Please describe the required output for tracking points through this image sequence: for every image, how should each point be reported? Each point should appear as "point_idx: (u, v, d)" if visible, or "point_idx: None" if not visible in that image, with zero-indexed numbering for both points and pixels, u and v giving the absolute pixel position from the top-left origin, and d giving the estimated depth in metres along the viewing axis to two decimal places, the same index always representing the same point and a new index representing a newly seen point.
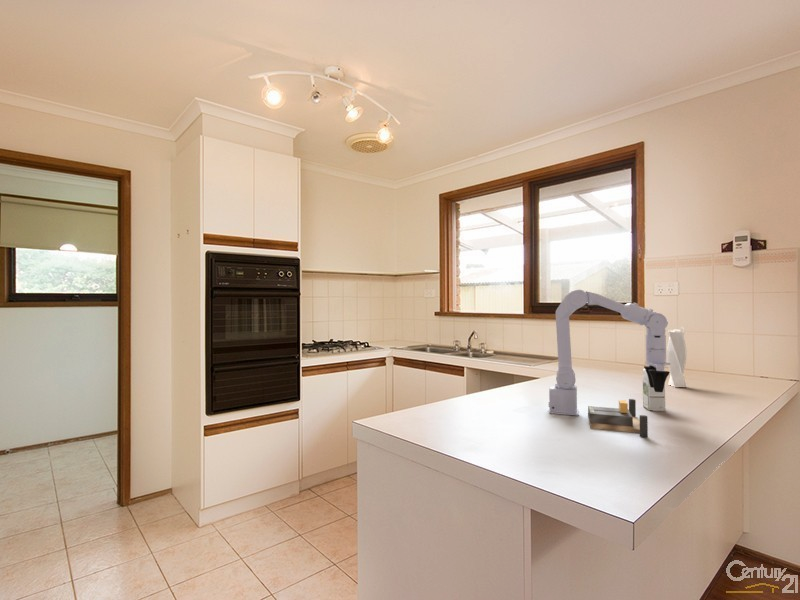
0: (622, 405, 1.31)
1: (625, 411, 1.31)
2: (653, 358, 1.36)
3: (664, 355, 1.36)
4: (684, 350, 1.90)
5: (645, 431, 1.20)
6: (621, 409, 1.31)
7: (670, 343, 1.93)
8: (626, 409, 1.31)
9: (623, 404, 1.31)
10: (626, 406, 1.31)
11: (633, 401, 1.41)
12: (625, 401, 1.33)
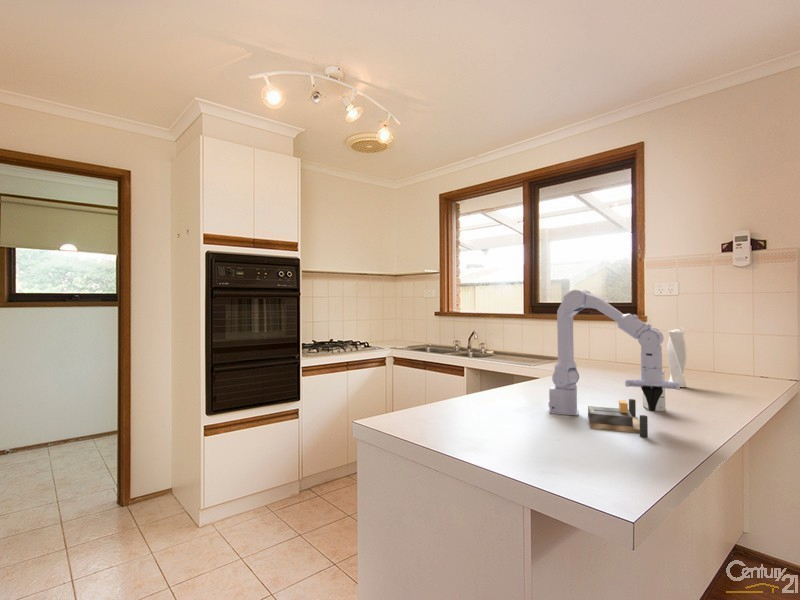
0: (622, 405, 1.31)
1: (625, 411, 1.31)
2: None
3: (645, 374, 1.29)
4: (684, 350, 1.90)
5: (645, 431, 1.20)
6: (621, 409, 1.31)
7: (670, 343, 1.93)
8: (626, 409, 1.31)
9: (623, 404, 1.31)
10: (626, 406, 1.31)
11: (633, 401, 1.41)
12: (625, 401, 1.33)
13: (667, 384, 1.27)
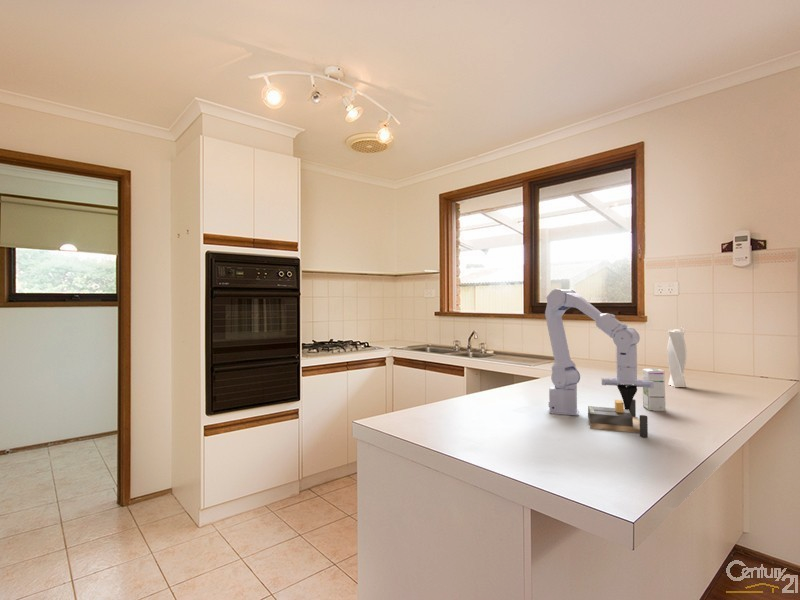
0: (618, 405, 1.31)
1: (621, 411, 1.31)
2: None
3: (621, 373, 1.31)
4: (684, 350, 1.90)
5: (645, 431, 1.20)
6: (617, 409, 1.32)
7: (670, 343, 1.93)
8: (622, 409, 1.31)
9: (619, 404, 1.31)
10: (622, 406, 1.31)
11: (633, 401, 1.41)
12: (621, 401, 1.34)
13: (641, 383, 1.29)
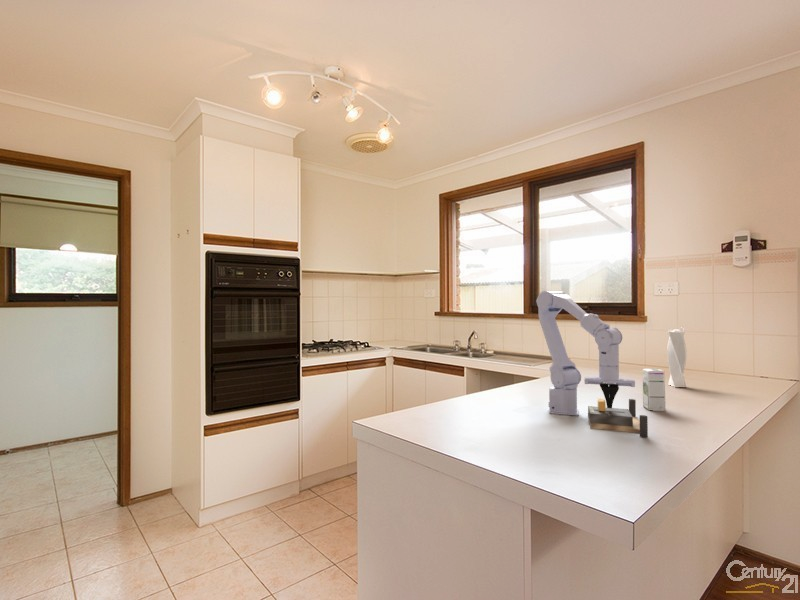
0: (600, 403, 1.33)
1: (603, 409, 1.33)
2: None
3: (603, 372, 1.33)
4: (684, 350, 1.90)
5: (645, 431, 1.20)
6: (599, 407, 1.33)
7: (670, 343, 1.93)
8: (604, 407, 1.33)
9: (601, 402, 1.33)
10: (604, 404, 1.33)
11: (633, 401, 1.41)
12: (603, 399, 1.36)
13: (623, 382, 1.31)
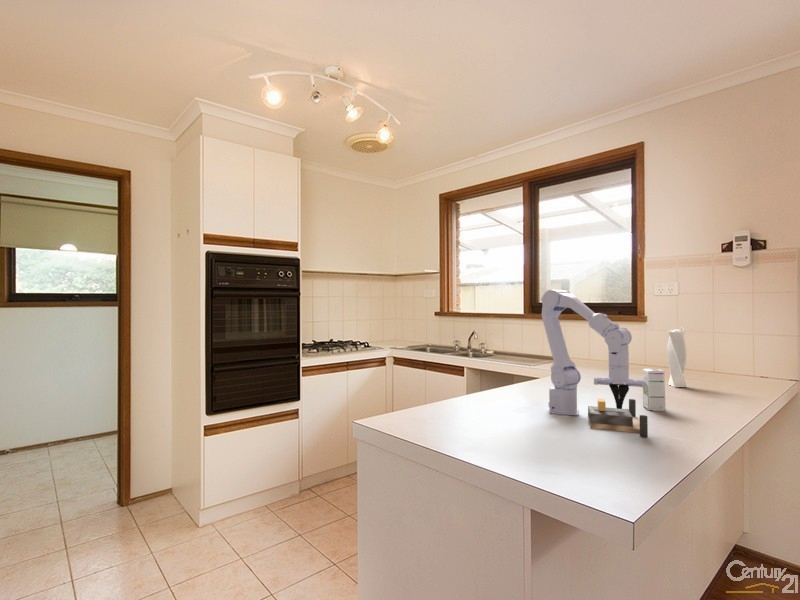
0: (600, 403, 1.33)
1: (603, 409, 1.33)
2: None
3: (612, 372, 1.32)
4: (684, 350, 1.90)
5: (645, 431, 1.20)
6: (599, 407, 1.33)
7: (670, 343, 1.93)
8: (604, 407, 1.33)
9: (601, 402, 1.33)
10: (604, 404, 1.33)
11: (633, 401, 1.41)
12: (603, 399, 1.36)
13: (633, 382, 1.30)
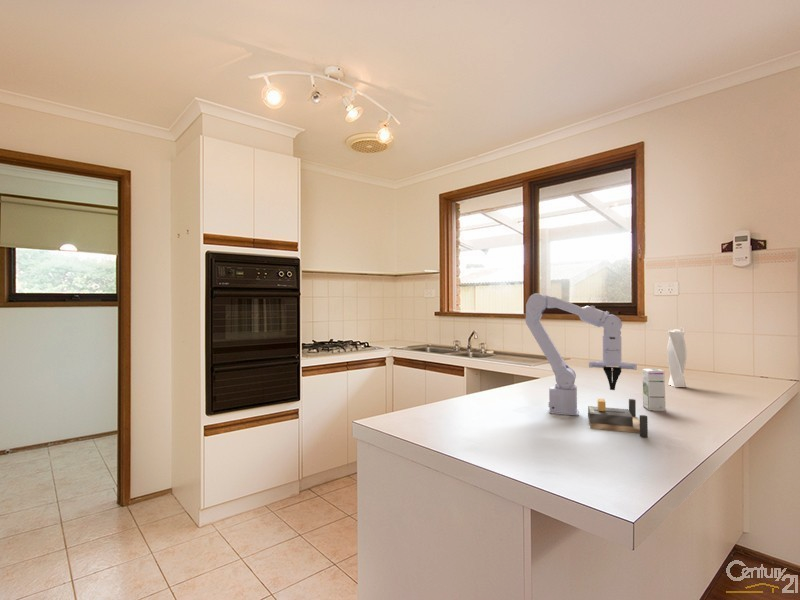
0: (600, 403, 1.33)
1: (603, 409, 1.33)
2: None
3: (606, 355, 1.41)
4: (684, 350, 1.90)
5: (645, 431, 1.20)
6: (599, 407, 1.33)
7: (670, 343, 1.93)
8: (604, 407, 1.33)
9: (601, 402, 1.33)
10: (604, 404, 1.33)
11: (633, 401, 1.41)
12: (603, 399, 1.36)
13: (625, 365, 1.39)
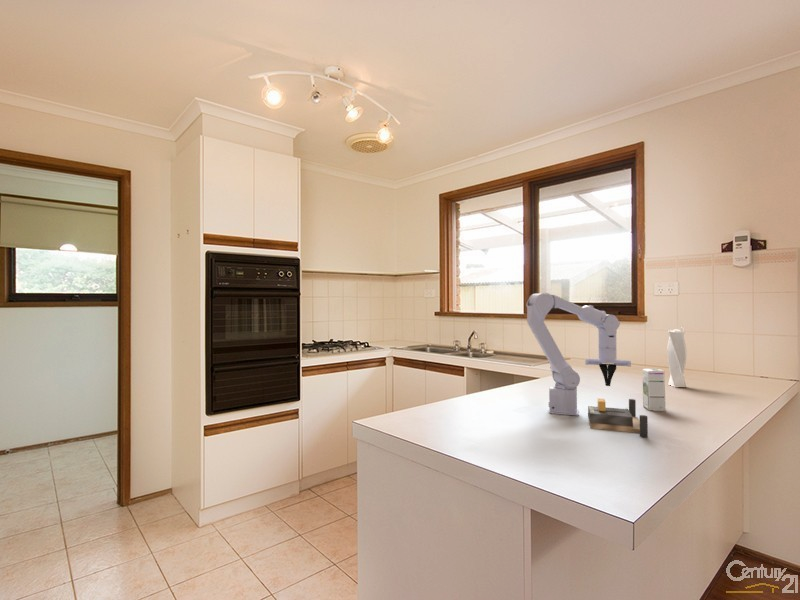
0: (600, 403, 1.33)
1: (603, 409, 1.33)
2: None
3: (602, 353, 1.48)
4: (684, 350, 1.90)
5: (645, 431, 1.20)
6: (599, 407, 1.33)
7: (670, 343, 1.93)
8: (604, 407, 1.33)
9: (601, 402, 1.33)
10: (604, 404, 1.33)
11: (633, 401, 1.41)
12: (603, 399, 1.36)
13: (620, 362, 1.46)
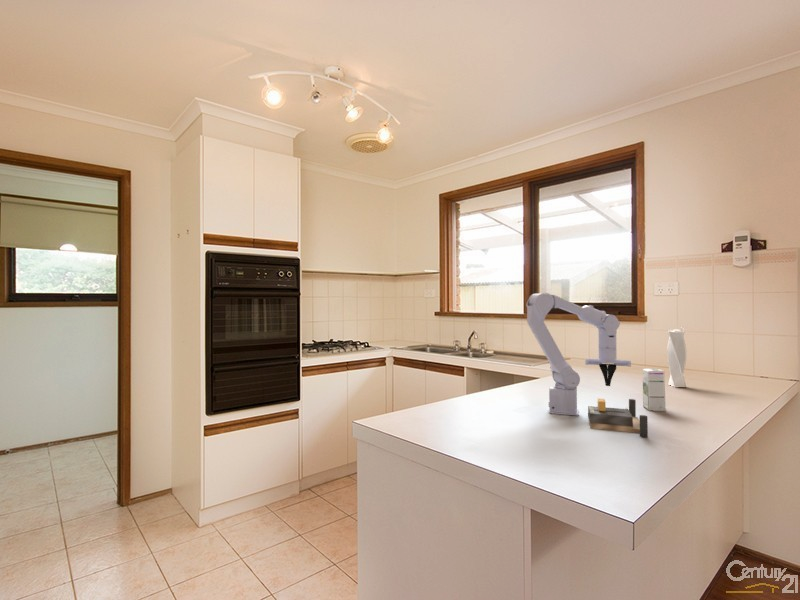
0: (600, 403, 1.33)
1: (603, 409, 1.33)
2: None
3: (602, 353, 1.48)
4: (684, 350, 1.90)
5: (645, 431, 1.20)
6: (599, 407, 1.33)
7: (670, 343, 1.93)
8: (604, 407, 1.33)
9: (601, 402, 1.33)
10: (604, 404, 1.33)
11: (633, 401, 1.41)
12: (603, 399, 1.36)
13: (620, 362, 1.46)
